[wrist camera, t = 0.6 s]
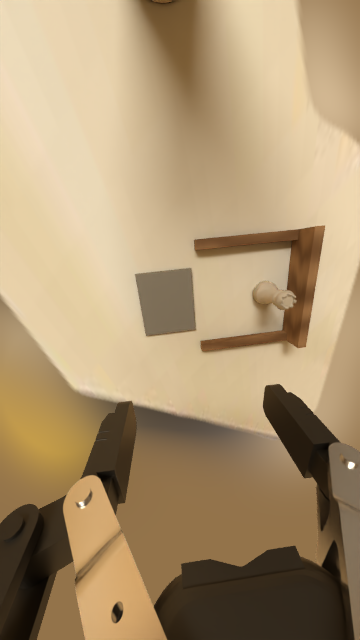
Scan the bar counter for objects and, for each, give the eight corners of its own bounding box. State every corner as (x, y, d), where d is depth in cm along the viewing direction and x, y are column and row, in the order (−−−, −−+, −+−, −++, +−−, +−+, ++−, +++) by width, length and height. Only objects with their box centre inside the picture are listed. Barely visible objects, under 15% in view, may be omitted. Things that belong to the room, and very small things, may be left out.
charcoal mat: (135, 274, 33) (135, 274, 32) (190, 268, 33) (191, 268, 33) (146, 334, 37) (146, 335, 36) (195, 328, 37) (195, 329, 37)
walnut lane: (194, 240, 32) (199, 237, 27) (301, 229, 33) (325, 225, 28) (201, 347, 39) (206, 360, 34) (288, 336, 40) (305, 346, 35)
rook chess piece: (269, 276, 35) (298, 281, 28) (276, 295, 37) (306, 306, 29) (248, 288, 36) (271, 297, 28) (256, 307, 37) (280, 320, 30)
